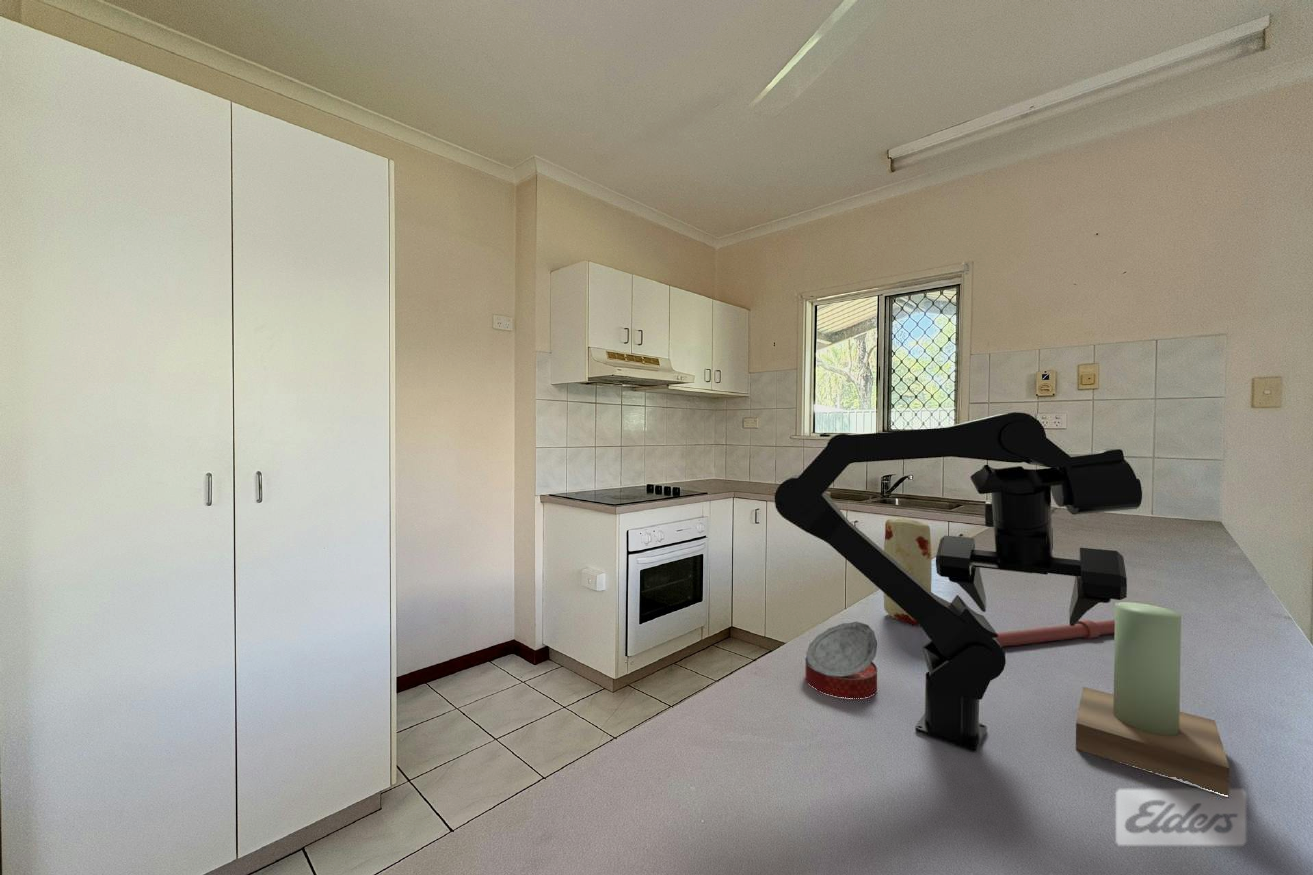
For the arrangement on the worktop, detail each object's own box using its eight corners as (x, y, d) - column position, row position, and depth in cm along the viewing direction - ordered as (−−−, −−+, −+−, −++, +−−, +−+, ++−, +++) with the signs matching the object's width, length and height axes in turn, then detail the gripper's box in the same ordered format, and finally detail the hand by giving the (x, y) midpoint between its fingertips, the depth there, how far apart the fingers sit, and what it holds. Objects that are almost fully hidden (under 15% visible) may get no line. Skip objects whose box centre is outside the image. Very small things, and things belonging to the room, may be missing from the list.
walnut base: (1229, 797, 52) (1229, 768, 52) (1075, 748, 60) (1076, 722, 60) (1214, 745, 61) (1214, 720, 61) (1082, 709, 69) (1082, 686, 69)
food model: (874, 615, 105) (875, 515, 105) (896, 610, 108) (897, 513, 108) (918, 632, 96) (920, 523, 96) (941, 626, 99) (943, 520, 99)
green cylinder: (1181, 741, 57) (1183, 622, 57) (1112, 722, 61) (1114, 610, 61) (1177, 720, 61) (1179, 609, 61) (1113, 703, 65) (1115, 599, 65)
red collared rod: (1142, 627, 101) (1143, 611, 101) (1162, 633, 98) (1162, 616, 98) (952, 649, 89) (952, 631, 89) (967, 657, 86) (968, 638, 86)
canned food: (876, 729, 73) (892, 682, 68) (801, 712, 74) (812, 666, 70) (867, 661, 82) (881, 616, 77) (801, 648, 84) (810, 603, 79)
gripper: (1119, 483, 62) (1116, 586, 68) (942, 477, 74) (952, 566, 79) (1129, 539, 54) (1124, 651, 60) (929, 523, 66) (941, 618, 71)
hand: (1026, 616), depth 68 cm, fingers open, 9 cm apart
